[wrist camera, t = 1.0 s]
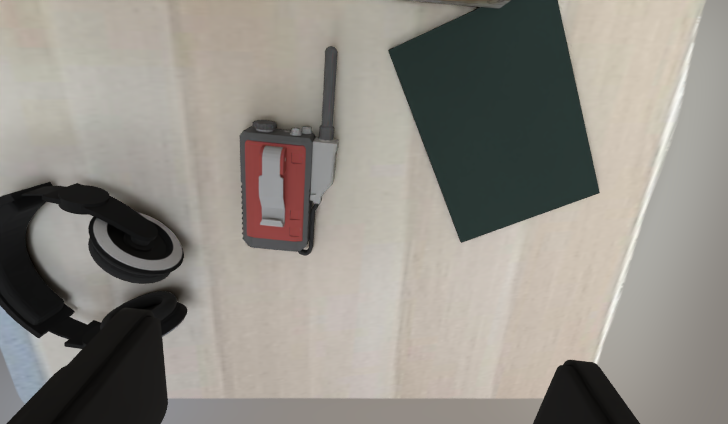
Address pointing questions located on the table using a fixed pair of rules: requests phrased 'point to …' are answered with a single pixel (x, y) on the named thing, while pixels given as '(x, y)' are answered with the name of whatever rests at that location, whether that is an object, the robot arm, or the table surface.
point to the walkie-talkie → (287, 175)
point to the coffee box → (471, 2)
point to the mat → (499, 114)
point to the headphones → (107, 247)
